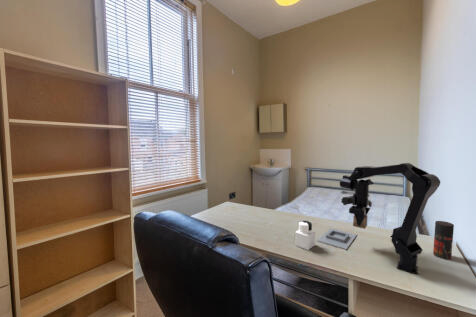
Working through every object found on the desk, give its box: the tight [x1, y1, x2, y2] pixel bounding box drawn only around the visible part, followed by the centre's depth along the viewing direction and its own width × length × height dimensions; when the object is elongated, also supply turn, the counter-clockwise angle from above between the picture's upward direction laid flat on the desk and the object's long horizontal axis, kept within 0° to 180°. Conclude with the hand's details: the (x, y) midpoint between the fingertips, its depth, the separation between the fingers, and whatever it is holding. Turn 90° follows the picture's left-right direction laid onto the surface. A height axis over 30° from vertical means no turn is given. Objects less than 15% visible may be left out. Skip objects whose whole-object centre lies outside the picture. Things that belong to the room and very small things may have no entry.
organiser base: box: [316, 227, 358, 250], centre depth 116 cm, size 20×14×2 cm
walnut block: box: [352, 214, 368, 230], centre depth 107 cm, size 5×5×5 cm
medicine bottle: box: [294, 220, 316, 251], centre depth 109 cm, size 7×7×12 cm
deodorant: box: [432, 220, 455, 261], centre depth 97 cm, size 6×6×15 cm
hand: (360, 223), depth 107 cm, fingers closed on walnut block, 5 cm apart
